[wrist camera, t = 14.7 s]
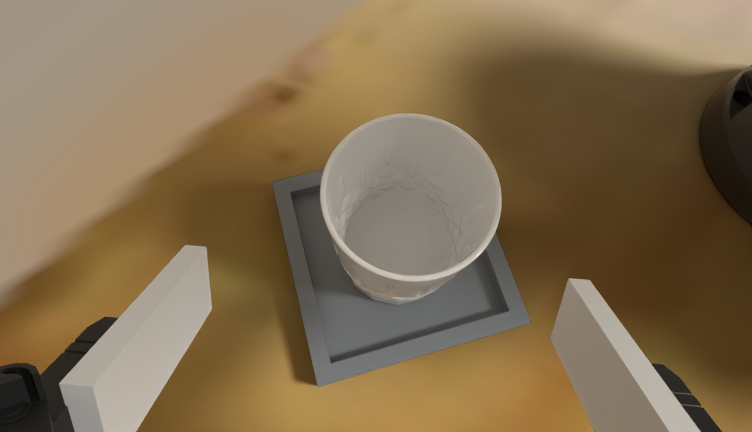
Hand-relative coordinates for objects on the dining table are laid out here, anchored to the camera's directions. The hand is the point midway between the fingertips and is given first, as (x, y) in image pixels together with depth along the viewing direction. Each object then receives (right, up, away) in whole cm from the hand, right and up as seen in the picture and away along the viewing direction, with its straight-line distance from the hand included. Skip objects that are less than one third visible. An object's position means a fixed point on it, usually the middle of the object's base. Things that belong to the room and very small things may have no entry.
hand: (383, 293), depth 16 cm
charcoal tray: (+1, 0, +13) cm, 13 cm away
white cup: (+1, 0, +12) cm, 12 cm away
